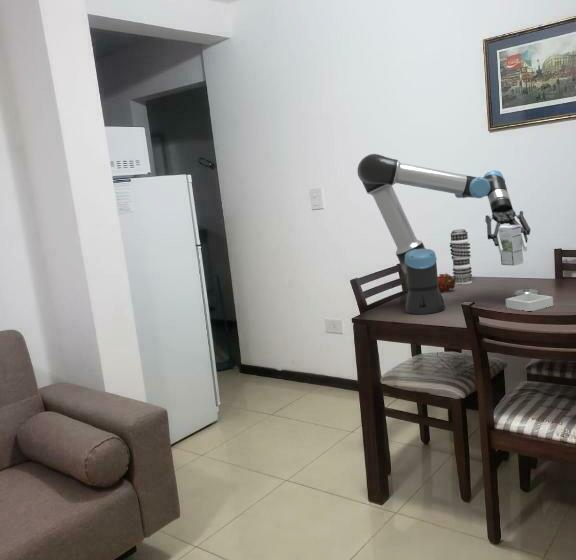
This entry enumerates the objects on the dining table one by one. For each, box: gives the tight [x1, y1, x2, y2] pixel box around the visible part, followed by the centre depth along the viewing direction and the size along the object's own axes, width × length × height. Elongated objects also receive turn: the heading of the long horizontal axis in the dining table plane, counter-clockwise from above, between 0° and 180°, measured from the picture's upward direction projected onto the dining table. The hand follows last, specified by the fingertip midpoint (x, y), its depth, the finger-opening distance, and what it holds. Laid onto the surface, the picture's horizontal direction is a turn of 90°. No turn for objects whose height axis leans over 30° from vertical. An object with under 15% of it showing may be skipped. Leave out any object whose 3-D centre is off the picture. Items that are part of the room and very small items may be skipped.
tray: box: [505, 293, 554, 312], centre depth 202 cm, size 11×11×3 cm
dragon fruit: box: [438, 273, 457, 293], centre depth 249 cm, size 8×8×12 cm
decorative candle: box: [449, 228, 473, 285], centre depth 260 cm, size 9×9×25 cm
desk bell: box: [512, 288, 541, 297], centre depth 217 cm, size 10×10×3 cm
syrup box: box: [498, 224, 524, 266], centre depth 206 cm, size 6×6×14 cm
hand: (513, 250), depth 203 cm, fingers closed on syrup box, 8 cm apart
